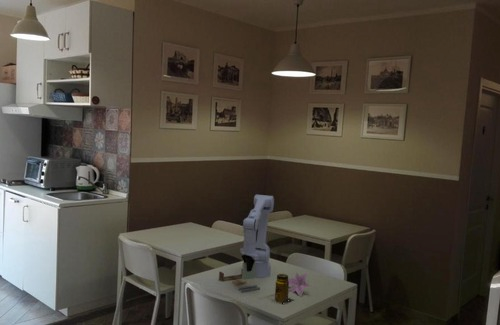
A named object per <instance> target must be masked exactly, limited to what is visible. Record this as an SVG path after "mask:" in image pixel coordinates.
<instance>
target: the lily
mask: <svg viewBox="0 0 500 325" xmlns="http://www.w3.org/2000/svg"><path fill="white" fill-rule="evenodd" d="M308 275H309V272H305V273H302V274H301V275H300V274H299V272H297V271H295V272H294V277H291V278H289V277H288V281H289V285H290V286H291V287H290V290H289V292H290V293H294V292H296V293H297V294H298V296H299V297H300V296H303V292H304V289H306V288H310V287H311V285H310V284H309V283H308V282H307V281H306V280H307V278H308V277H309V276H308Z"/></svg>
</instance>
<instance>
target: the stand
mask: <svg viewBox="0 0 500 325" xmlns="http://www.w3.org/2000/svg"><path fill="white" fill-rule="evenodd" d="M260 290H261V287H260V286H259V287H258V285H256V284H255V285H250V286H243V287H238V291H239V292H240V293H243V294H244V293H248V292H256V291H260Z"/></svg>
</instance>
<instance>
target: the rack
mask: <svg viewBox="0 0 500 325" xmlns="http://www.w3.org/2000/svg"><path fill="white" fill-rule="evenodd" d="M242 270H243V268H241V271H242ZM218 272H219V274H218V279H219V281H220V282H230V281H234V280H238V279H242V272H241V274H234V275H228V276H227V275H226V276H225V274H224V272H223V271H218Z"/></svg>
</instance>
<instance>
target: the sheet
mask: <svg viewBox="0 0 500 325" xmlns="http://www.w3.org/2000/svg"><path fill="white" fill-rule="evenodd" d="M242 269H243V270H242ZM242 269H241V273H242V279H243V280H245V281H247V280H253V279H254V278H255V277H254V270H255V262H254V264H253V267H252V271H249V272H248V271H247V265H246V262H245V263H244V262H242Z"/></svg>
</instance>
